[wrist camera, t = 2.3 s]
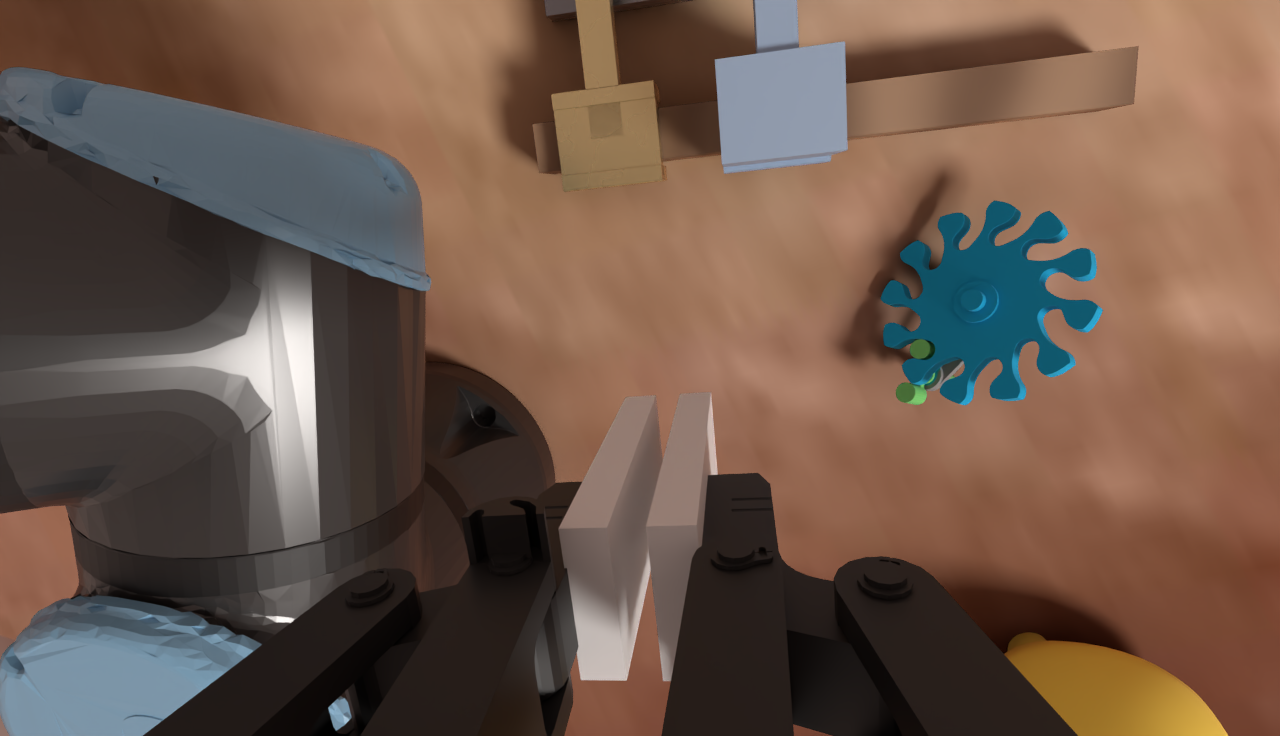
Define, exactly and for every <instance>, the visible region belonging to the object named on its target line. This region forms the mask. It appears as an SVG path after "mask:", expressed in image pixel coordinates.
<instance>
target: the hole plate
mask: <svg viewBox="0 0 1280 736" xmlns="http://www.w3.org/2000/svg"><path fill="white" fill-rule="evenodd" d="M684 1H691V0H613V10H614V12H619V11H626V10H632V9H639V8H645V7H652V6H658V5H665V4H671V3H678V2H684ZM544 2H545V10H546V16H547V17H548V18H549V19H550V20H551V21H552V22H554V21H560V20H567V19H573V18H577V11H576V3H575V0H544Z"/></svg>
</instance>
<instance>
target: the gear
mask: <svg viewBox="0 0 1280 736" xmlns="http://www.w3.org/2000/svg"><path fill="white" fill-rule="evenodd" d="M1020 216H1021V212H1020V211H1019V210H1017V209H1016V208H1015V207H1014V206H1012V205H1010V204H1008V203H1005V202H1000V201H993V202H992V203H991V204H990V205H989V206H988V208H987V210H986V220H985V224H984V227H983V230H982V231H981V233H980V235H979V236H978V238H977V239H976V240H975V241H974V242H973V244H972V245H971V246H970V247H969V248H967V249H965V250H959V243H960V241H961V239H962V238H963V237H964V236H965V235H966V234H967V232H968V231H969V229H970V225H971V222H970V219H969V218H968V217H967V216H966V215H964V214H963V213H952V214H948V215H945V216H942V217H940V219H939V221H938V228H939V230H940V232H941V233H942V236H943V239H944V253H943V257H942V261H941V264H940V265H939V266H938V267H937V268H936V269H933V270H930V269H929V261H930V257H931V250H930V248H929V247H928V246H927V245H926V244H924V243H922V242H921V241H919V240H917V241H915V242H913V243H911V244H910V245H908V246H907V247H906V248H905V249H904V250H903V251H902V252H901V253H900V257H901V259H902V261H903V262H904V263H906V264H908V265H910V266H912V267H913V268H914V269H915V270H916V271H917V272H918V274H919V276H920V278H921V282H922V285H923V292H922V294H921V295H920V296H919V297H918V298H916V299H912V297H911V294H910V291H909V288H908V287H907V286H906V285H904V284H902V283H900V282H898V281H895V280H891V281H890V282H889V283H888V284H887V286H886V287H885V289H884V291H883V293H882V296H881V298H880V299H881V300H882V301H883V302H884V303H886V304H888V305H891V306H893V307H909V308H911V309H912V310H913V311H914V312H916V313H917V314H918V315H919V316H920V319H921V323H920V326H919V327H918V328H917V329H916V330H915V331H912V332H911V331H909V330H908V329H907V328H906V327H904V326H902V325H899V324H896V323H888V324H886V325H885V327H884V332H883V340H884V345H885V346H887V347H890V348H893V349H901V348H903V347H905V346H906V345H908V344H911V343H912V344H911V346H910V353H911V355H912V356H913V357H914V358H912V359H908V360H907V361H905V362H904V363H903V365H902V368H903V371H904V374H905V375H906V377H907V378H908V380H909V381H910V382H911V383H912V384H911V383H902V384H900V385H899V386H898V387H897V389H896V396H897V398H898V400H900V401H901V402H905V403H909V404H914V405H919V404H921V403H923V402H924V401H925V399H926V396H927V393H926V390H927V391H934V390H937V389H939V388H940V393H941V394H942V395H943V396H944V397H945V398H947V399H949V400H951V401H953V402H955V403H958V404H962V405H967V404H969V403H970V402H971V400H972V398H973V395H974V385H975V382H976V379H977V377H978V375H979V374H980V372H981V371H982V370H983V369H984V368H985V367H986V366H987V365H988V364H989V363H990V362H991V361H993V360H996V359H999V360H1000V361H1001V362H1002V365H1003V370H1002V372H1001V374H1000V375H999V376H998V377H997V378H996V379H995V380H994V381H993V382H992V383H991V386H990V395H991V397H992V398H996V399H1000V400H1004V401H1016V400H1023V399H1024V398H1025V395H1026V388H1025V385H1024V384H1023V382H1022V381H1021V378H1020V376H1019V371H1018V361H1019V356H1020V352H1021V349H1022V347H1023V346H1024V345H1025V344H1026V343H1028V342H1031V341H1036V342H1037V343H1038V345H1039V348H1040V349H1039V354H1038V358H1037V367H1038V369H1039V371H1040V372H1041V373H1043V374H1044V375H1046V376H1049V377H1055V376H1058V375H1060V374H1063V373H1064V372H1066V371H1068V370H1069V369H1071V368H1072V367H1073V366H1075V359H1074V357H1073V356H1072V355H1071V354H1070V353H1069V352H1067V351H1064V350H1062V349H1061V348H1059V347H1058V346H1056V345H1055V344H1054V343H1053V342H1052V341H1051V339H1050V338H1049V336H1048V334H1047V332H1046V330H1045V327H1044V324H1043V318H1044V316H1045V314H1046V313H1047V312H1049V311H1050V310H1053V309H1061V310H1062V312H1063V315H1064V317H1065V320H1066V322H1067V323H1068V325H1069V326H1071V327H1072V328H1074V329H1076V330H1078V331H1080V332H1089V331H1090V330H1091V329H1092V328H1093V327H1094V326H1095V325H1096V323H1097V321H1098V320H1099V318H1100V316H1101V314H1102V311H1103V310H1102V309H1101V307H1099V306H1098V305H1096V304H1095V303H1094V302H1092V301H1089V300H1066V299H1062V298H1059V297H1056V296H1054V295H1053V294H1051V293H1050V292H1048V291H1047V289H1046V287H1045V282H1046V280H1047V278H1048V277H1049V276H1050V275H1052V274H1054V273H1057V272H1062V273H1065V274H1067V275H1069V276H1070V277H1071V278H1073V279H1075V280H1077V281H1089V280H1092V279H1093V278H1095V275H1096V269H1097V266H1096V258H1095V254H1094V253H1093V252H1092V251H1091V250H1089V249H1086V248H1080V249H1076V250H1073V251H1071V252H1070V253H1068V254H1067V255H1065V256H1062V257H1060V258H1057V259H1054V260H1048V261H1033V260H1028V259H1027V252H1028V250H1029V249H1030V247H1032V246H1033V245H1035V244H1038V243H1057V242H1059V241H1061V240H1063V239H1064V238H1065V237H1066V236H1067V235H1068V231H1067V228H1066V227H1065V225H1064V224H1063V223H1062V222H1061V221H1060V220H1059V219H1058V218H1057V217H1056V216H1055V215H1054V214H1053V213H1051V212H1050V211H1047V212H1044V213H1042V214H1040V215H1039V216H1038V217H1037V218H1036V219H1035V221H1034V222H1033V224H1032V225H1031V227H1030V228H1029V229H1028V230H1027V231H1026V232H1025V233H1024V234H1023V235H1021V236H1020V237H1019V238H1017V239H1015V240H1013V241H1011V242H1009V243H1007V244H1004V245H1002V246H995V238H996V236H997V235H998V234H999V233H1000V232H1002V231H1004V230H1006V229H1008V228H1010V227H1012V226H1014V225H1015V224H1016V223H1017V222H1018V221H1019V219H1020ZM963 364H965V369H964V371H963V373H962V374H961V375H960V376H958V377H955V376H953V374H954V373H955V372H956V371H957V370H958V369H959V368H960V367H961V366H962V365H963Z"/></svg>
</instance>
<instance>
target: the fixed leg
mask: <svg viewBox="0 0 1280 736" xmlns="http://www.w3.org/2000/svg"><path fill="white" fill-rule="evenodd" d="M575 3H576V11H577V20H578V29H579V37H580V46H581V54H582V63H583V72H584V80H585V90H578V91H571V92H563V93H556V94H552V95H551V98H552V106H553V110H554V117H555V125H556V133H557V141H558V149H559V156H560V164H561V172H562V184H563V191H564V192H570V191H579V190H588V189H597V188H606V187H615V186H624V185H633V184H642V183H651V182H660V181H665V180H667V175H666V166H663V158H662V147H661V136H660V125H659V114H658V103H660V97H659V88H658V87H657V85H656V83H655V82H654V80H652V81H644V82H637V83H630V84H622V85H621V78H620V68H619V58H618V49H617V39H616V29H615V20H614V10H613V0H575Z"/></svg>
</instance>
